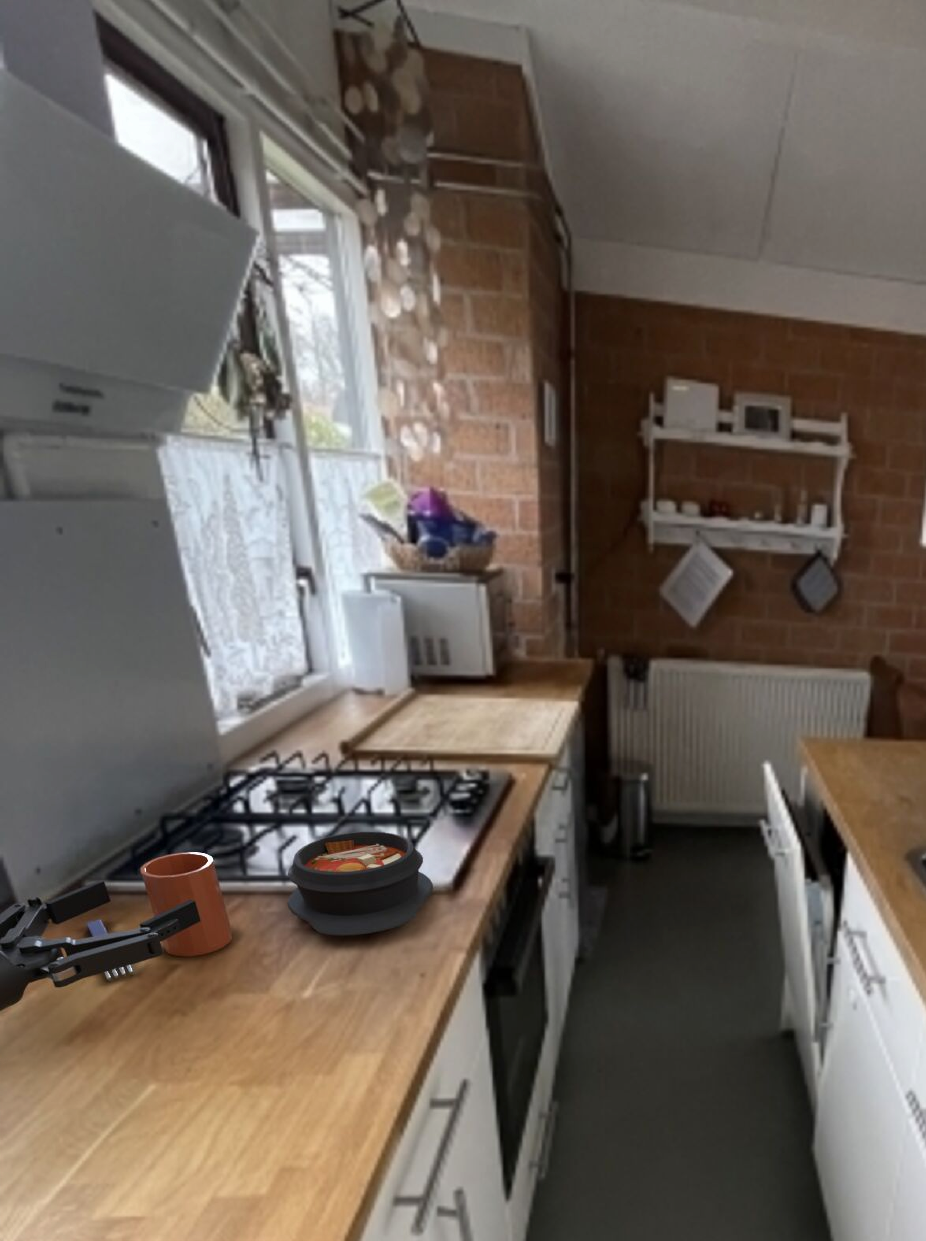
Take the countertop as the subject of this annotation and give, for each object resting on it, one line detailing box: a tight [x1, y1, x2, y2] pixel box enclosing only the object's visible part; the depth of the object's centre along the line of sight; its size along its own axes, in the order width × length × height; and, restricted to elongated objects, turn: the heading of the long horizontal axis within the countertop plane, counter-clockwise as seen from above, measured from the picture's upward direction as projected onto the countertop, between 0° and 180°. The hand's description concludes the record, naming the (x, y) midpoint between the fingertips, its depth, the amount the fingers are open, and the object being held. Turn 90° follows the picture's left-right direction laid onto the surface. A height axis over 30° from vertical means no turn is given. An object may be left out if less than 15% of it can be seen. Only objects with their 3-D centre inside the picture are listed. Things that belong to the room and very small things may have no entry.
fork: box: [86, 919, 135, 982], centre depth 108 cm, size 16×3×1 cm, turn 44°
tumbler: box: [140, 851, 234, 957], centre depth 109 cm, size 7×7×11 cm
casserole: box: [287, 831, 434, 936], centre depth 121 cm, size 25×19×8 cm
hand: (150, 900), depth 104 cm, fingers open, 13 cm apart
